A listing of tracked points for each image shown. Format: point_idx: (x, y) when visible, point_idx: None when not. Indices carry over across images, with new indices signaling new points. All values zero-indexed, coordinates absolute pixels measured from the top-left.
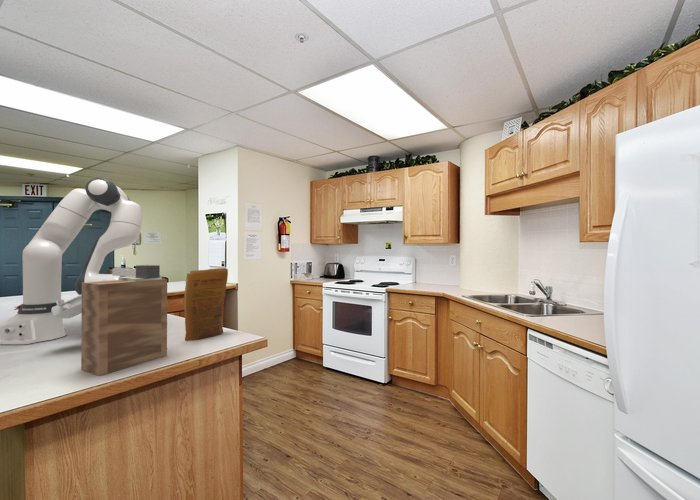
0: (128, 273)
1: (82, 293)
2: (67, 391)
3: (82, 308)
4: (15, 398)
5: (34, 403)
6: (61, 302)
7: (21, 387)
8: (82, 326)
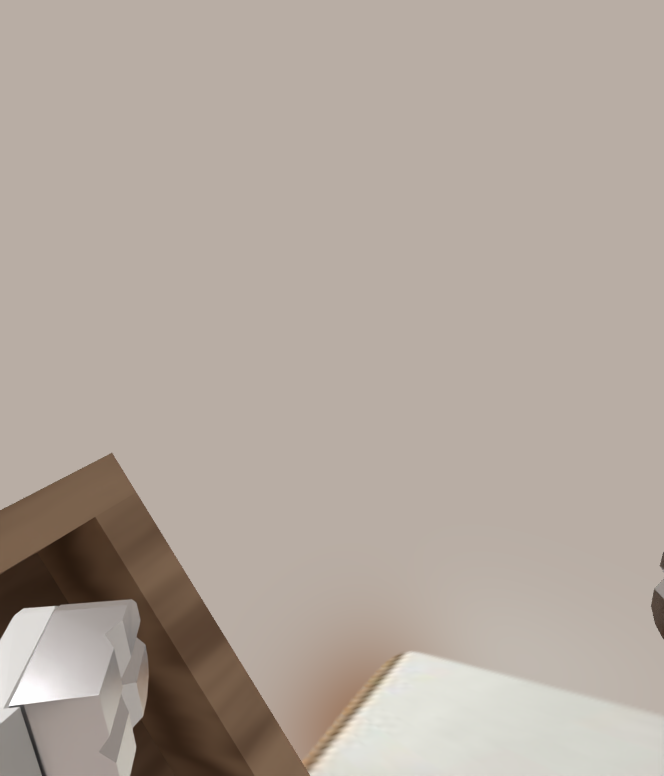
0: None
1: (145, 517)
2: (334, 758)
3: (198, 603)
4: (445, 678)
5: (372, 688)
6: (658, 597)
7: (509, 715)
8: (260, 706)
